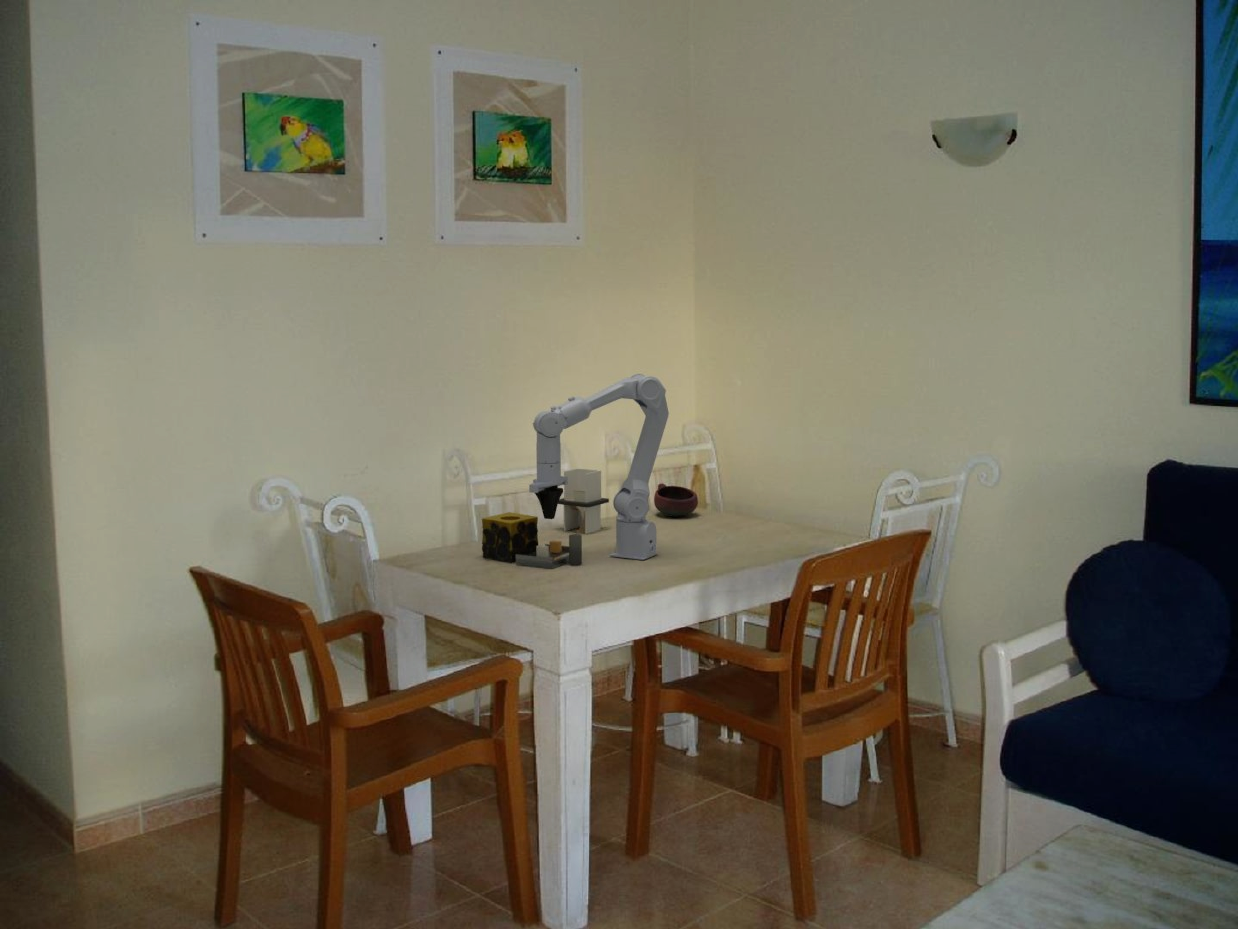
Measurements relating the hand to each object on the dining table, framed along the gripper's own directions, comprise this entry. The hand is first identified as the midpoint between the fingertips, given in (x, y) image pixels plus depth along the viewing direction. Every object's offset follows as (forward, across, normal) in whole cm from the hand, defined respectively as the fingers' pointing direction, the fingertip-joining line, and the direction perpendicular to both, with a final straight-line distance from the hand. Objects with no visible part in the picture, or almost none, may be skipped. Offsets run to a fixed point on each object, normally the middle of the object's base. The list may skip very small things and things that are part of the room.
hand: (549, 518), depth 306 cm
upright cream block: (+9, +3, 0) cm, 9 cm away
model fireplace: (+11, -37, -12) cm, 41 cm away
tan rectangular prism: (+9, -3, 0) cm, 9 cm away
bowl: (+11, -69, -1) cm, 70 cm away
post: (+10, 0, +7) cm, 13 cm away
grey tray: (+10, 0, 0) cm, 10 cm away
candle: (+11, 0, -11) cm, 15 cm away
